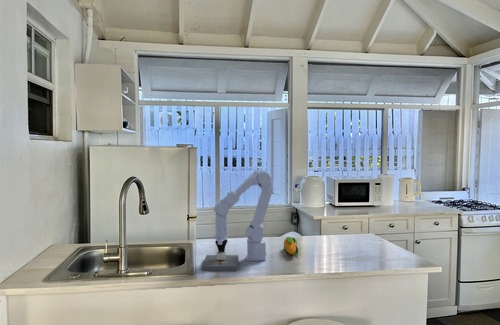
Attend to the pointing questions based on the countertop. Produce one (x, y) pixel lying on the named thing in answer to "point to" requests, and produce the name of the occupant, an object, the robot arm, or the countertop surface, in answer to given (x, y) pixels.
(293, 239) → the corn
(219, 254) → the fader
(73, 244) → the countertop surface
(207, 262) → the panel
